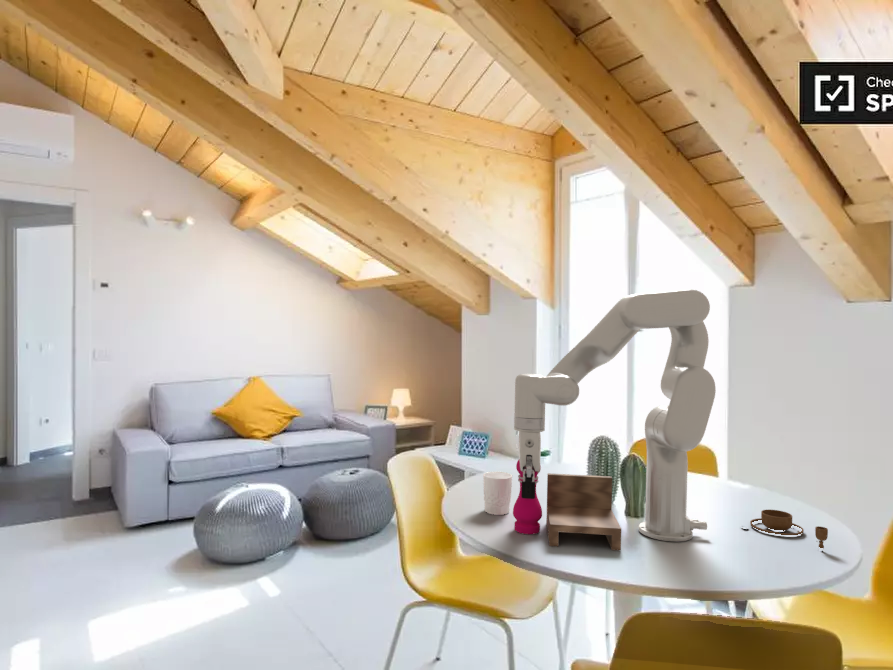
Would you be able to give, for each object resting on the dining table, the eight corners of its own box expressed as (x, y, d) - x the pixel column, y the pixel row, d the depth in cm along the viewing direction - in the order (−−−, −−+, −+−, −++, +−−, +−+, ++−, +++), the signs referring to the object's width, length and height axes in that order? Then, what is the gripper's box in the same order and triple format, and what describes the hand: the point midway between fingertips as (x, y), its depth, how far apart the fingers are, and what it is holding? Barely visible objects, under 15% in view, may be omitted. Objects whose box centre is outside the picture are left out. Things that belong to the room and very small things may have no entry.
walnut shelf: (610, 527, 151) (611, 476, 150) (620, 550, 135) (622, 493, 135) (546, 523, 152) (547, 473, 152) (549, 545, 137) (550, 489, 137)
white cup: (510, 517, 157) (510, 479, 157) (480, 514, 159) (481, 477, 159) (512, 508, 165) (513, 472, 165) (484, 506, 167) (485, 470, 167)
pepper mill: (543, 527, 150) (545, 448, 150) (540, 536, 143) (541, 453, 143) (514, 524, 152) (516, 446, 151) (510, 533, 145) (512, 451, 144)
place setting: (810, 529, 154) (811, 507, 154) (832, 556, 135) (833, 531, 135) (736, 521, 160) (736, 499, 160) (747, 546, 141) (747, 521, 141)
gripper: (546, 430, 138) (544, 503, 138) (543, 419, 155) (541, 484, 155) (513, 429, 139) (512, 501, 139) (514, 418, 156) (513, 483, 156)
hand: (527, 492), depth 147 cm, fingers open, 9 cm apart
